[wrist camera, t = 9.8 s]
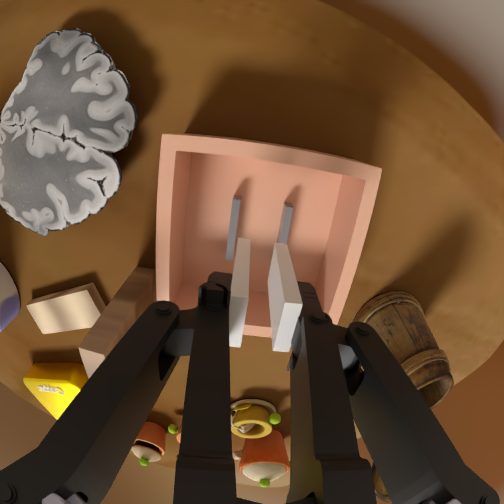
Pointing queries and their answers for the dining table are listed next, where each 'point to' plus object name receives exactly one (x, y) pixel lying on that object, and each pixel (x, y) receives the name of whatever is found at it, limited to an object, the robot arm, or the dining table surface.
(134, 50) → the dining table surface
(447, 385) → the wooden mug
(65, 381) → the element tile
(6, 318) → the container
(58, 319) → the beige wooden plank
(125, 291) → the tall beige block
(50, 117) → the brain slice
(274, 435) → the toy tea set
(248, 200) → the pink open box
